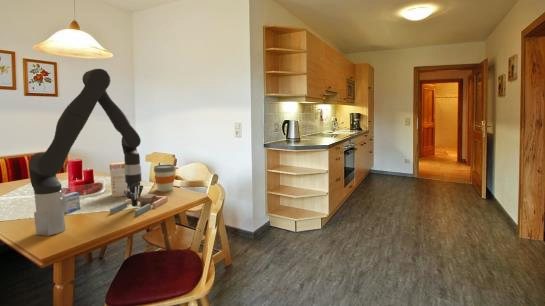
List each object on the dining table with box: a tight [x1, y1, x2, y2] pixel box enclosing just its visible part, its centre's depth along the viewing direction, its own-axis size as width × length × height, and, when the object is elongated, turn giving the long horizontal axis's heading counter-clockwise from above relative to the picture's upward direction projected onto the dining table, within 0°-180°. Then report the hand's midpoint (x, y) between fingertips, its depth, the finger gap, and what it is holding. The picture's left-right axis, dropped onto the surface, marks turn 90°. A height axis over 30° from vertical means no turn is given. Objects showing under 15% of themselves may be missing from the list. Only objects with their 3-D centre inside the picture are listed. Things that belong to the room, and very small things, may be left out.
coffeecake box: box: [109, 161, 127, 198], centre depth 185 cm, size 15×7×20 cm, turn 114°
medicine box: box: [62, 191, 81, 214], centre depth 156 cm, size 8×4×9 cm, turn 168°
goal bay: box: [123, 194, 169, 209], centre depth 169 cm, size 12×18×2 cm
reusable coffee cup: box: [153, 164, 176, 192], centre depth 196 cm, size 13×13×15 cm
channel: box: [109, 201, 152, 217], centre depth 156 cm, size 11×15×2 cm
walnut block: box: [139, 193, 157, 205], centre depth 170 cm, size 6×6×4 cm
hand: (134, 206), depth 159 cm, fingers closed
